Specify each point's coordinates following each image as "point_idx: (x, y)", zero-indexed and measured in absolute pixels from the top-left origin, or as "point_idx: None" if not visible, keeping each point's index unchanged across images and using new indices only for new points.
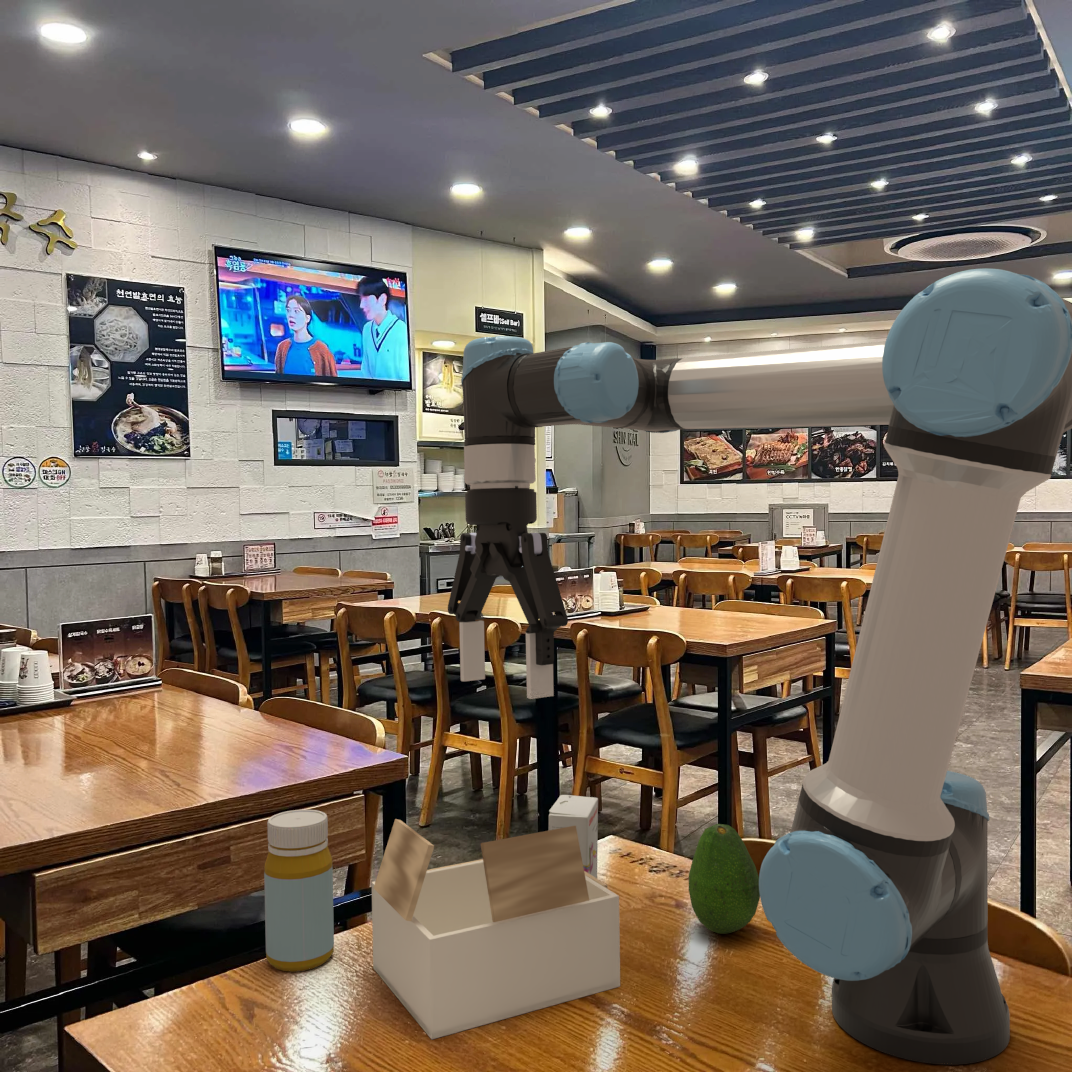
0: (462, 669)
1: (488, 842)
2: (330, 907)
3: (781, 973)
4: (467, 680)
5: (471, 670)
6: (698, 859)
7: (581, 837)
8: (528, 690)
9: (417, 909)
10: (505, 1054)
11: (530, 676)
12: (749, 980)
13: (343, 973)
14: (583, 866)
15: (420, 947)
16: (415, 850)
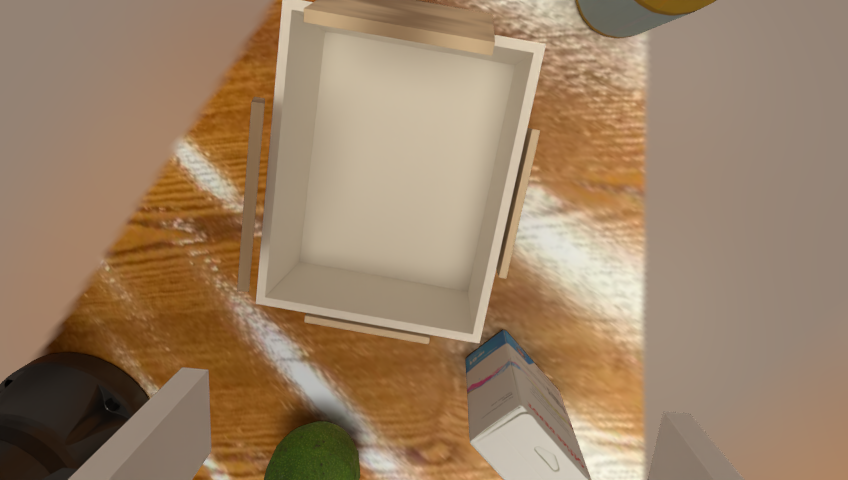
0: (698, 443)
1: (251, 113)
2: (605, 7)
3: (219, 406)
4: (661, 426)
5: (675, 470)
6: (309, 473)
7: (474, 415)
8: (182, 382)
9: (511, 121)
10: (247, 73)
11: (136, 415)
12: (226, 372)
13: (538, 18)
14: (470, 391)
15: None
16: (358, 12)
